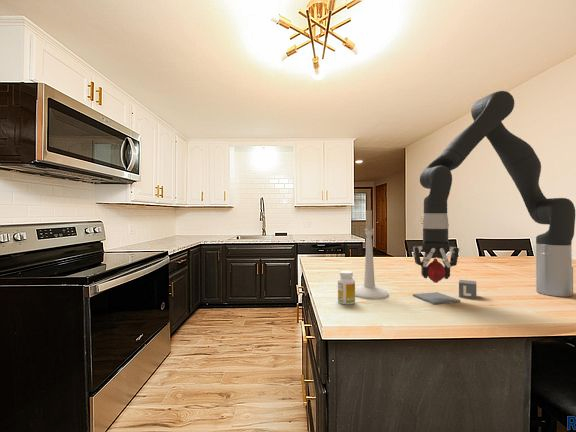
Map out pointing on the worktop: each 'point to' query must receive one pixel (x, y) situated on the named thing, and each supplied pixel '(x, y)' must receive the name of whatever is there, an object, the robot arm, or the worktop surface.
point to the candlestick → (369, 268)
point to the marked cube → (467, 289)
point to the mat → (436, 298)
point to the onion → (435, 271)
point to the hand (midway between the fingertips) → (435, 278)
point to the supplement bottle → (346, 288)
